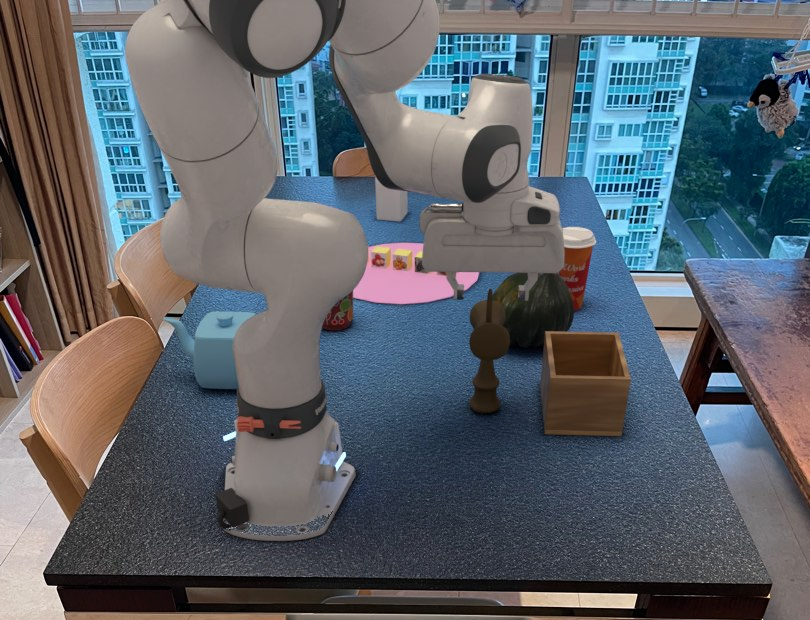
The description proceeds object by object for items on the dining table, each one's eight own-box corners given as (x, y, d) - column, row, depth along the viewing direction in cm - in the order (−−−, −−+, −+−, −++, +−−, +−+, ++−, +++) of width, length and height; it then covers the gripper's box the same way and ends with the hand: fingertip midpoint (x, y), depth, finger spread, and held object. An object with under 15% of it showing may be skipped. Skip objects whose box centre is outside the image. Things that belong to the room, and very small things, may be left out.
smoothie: (351, 335, 161) (345, 227, 148) (307, 332, 163) (297, 224, 150) (362, 316, 167) (357, 210, 155) (319, 313, 169) (311, 207, 156)
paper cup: (541, 309, 169) (547, 236, 160) (555, 294, 174) (562, 223, 165) (580, 316, 166) (589, 243, 157) (593, 301, 171) (602, 229, 162)
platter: (359, 237, 199) (358, 222, 197) (496, 252, 191) (497, 236, 189) (301, 293, 176) (300, 277, 174) (455, 313, 168) (455, 296, 166)
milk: (384, 211, 212) (381, 112, 198) (408, 213, 211) (406, 114, 197) (376, 220, 208) (372, 119, 194) (400, 222, 206) (398, 121, 192)
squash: (469, 297, 161) (498, 255, 146) (542, 286, 165) (577, 246, 151) (490, 369, 159) (521, 335, 145) (563, 357, 163) (600, 322, 149)
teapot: (184, 358, 155) (172, 297, 148) (284, 361, 154) (277, 299, 147) (164, 394, 146) (150, 330, 138) (271, 397, 144) (263, 332, 137)
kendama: (466, 423, 137) (470, 302, 125) (465, 392, 145) (469, 275, 132) (504, 423, 137) (513, 302, 124) (501, 392, 144) (509, 275, 132)
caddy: (621, 436, 134) (631, 379, 128) (544, 434, 134) (550, 377, 128) (610, 386, 145) (618, 332, 139) (540, 385, 146) (545, 331, 140)
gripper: (418, 211, 119) (419, 307, 128) (570, 212, 117) (560, 309, 126) (420, 195, 124) (421, 288, 132) (567, 196, 122) (558, 290, 131)
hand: (490, 298), depth 129 cm, fingers open, 8 cm apart
